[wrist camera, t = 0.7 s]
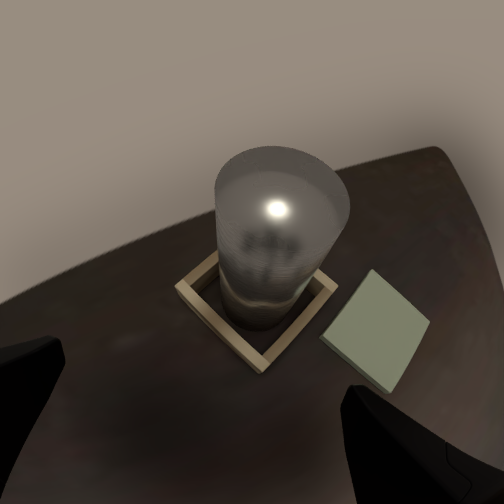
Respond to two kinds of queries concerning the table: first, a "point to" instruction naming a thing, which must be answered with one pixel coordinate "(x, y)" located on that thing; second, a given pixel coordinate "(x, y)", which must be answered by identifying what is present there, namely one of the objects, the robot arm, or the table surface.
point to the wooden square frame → (189, 292)
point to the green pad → (376, 332)
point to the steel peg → (273, 230)
